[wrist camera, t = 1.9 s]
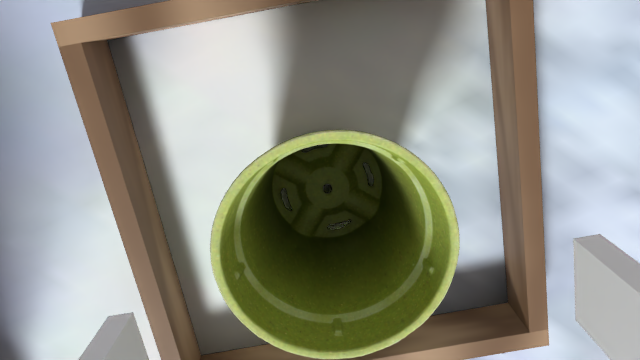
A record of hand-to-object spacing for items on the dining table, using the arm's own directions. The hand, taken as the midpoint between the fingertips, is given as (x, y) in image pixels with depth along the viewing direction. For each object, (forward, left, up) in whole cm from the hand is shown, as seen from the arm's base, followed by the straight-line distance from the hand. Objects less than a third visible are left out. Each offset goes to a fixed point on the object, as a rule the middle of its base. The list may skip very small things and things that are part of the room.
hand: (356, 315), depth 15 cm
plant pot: (0, 0, -13) cm, 13 cm away
